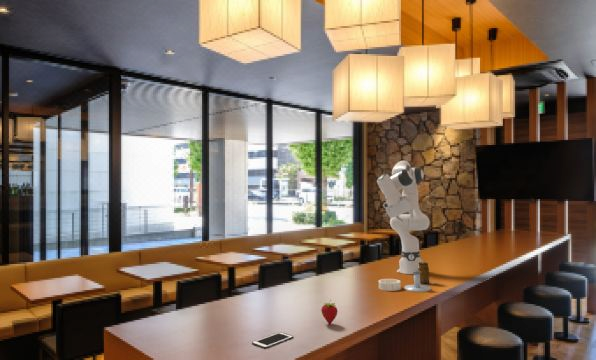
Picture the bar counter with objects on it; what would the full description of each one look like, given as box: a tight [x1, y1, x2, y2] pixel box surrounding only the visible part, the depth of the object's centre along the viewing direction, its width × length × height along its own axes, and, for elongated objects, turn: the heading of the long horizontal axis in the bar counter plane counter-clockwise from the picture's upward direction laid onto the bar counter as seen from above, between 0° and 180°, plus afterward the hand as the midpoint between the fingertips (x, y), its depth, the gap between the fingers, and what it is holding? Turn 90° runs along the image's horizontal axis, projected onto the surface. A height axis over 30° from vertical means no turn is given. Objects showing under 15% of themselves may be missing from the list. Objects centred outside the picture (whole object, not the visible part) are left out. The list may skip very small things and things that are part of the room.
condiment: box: [418, 261, 435, 286], centre depth 234 cm, size 7×8×12 cm
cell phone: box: [251, 331, 294, 350], centre depth 147 cm, size 8×15×1 cm, turn 136°
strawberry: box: [320, 299, 338, 325], centre depth 165 cm, size 6×8×10 cm
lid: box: [403, 270, 431, 293], centre depth 221 cm, size 14×14×10 cm
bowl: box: [377, 278, 402, 292], centre depth 224 cm, size 12×12×4 cm
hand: (407, 220), depth 234 cm, fingers open, 8 cm apart
